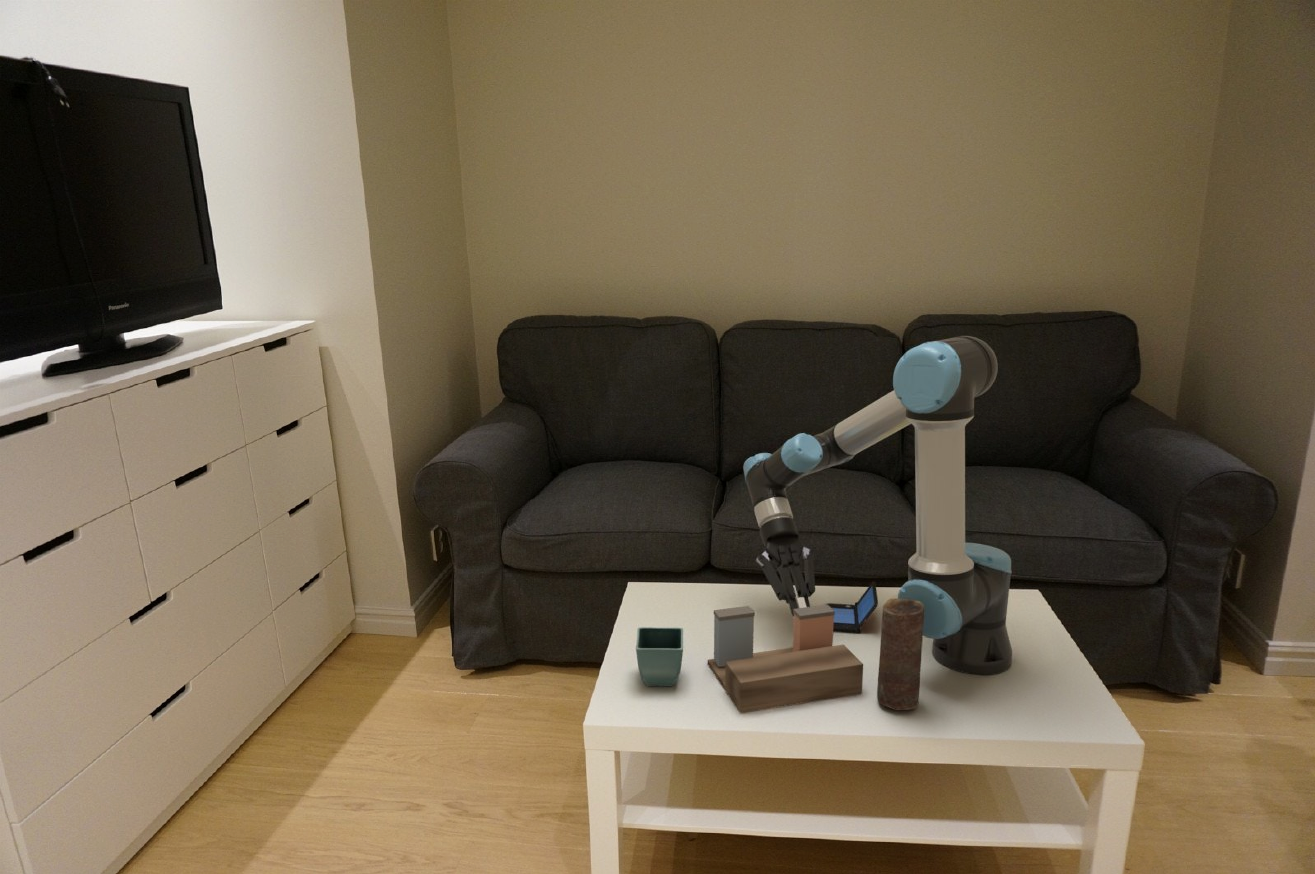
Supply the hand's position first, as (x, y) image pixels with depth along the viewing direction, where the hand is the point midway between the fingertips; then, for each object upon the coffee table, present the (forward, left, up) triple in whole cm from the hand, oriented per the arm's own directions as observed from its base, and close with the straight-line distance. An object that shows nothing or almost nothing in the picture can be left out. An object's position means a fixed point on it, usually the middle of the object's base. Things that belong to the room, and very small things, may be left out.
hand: (806, 630), depth 182 cm
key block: (+1, +9, -6) cm, 11 cm away
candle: (-21, +8, -6) cm, 23 cm away
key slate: (+11, +10, -5) cm, 16 cm away
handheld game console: (-2, -21, -7) cm, 22 cm away
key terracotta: (-2, +2, -5) cm, 6 cm away
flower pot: (+21, +21, -6) cm, 31 cm away
